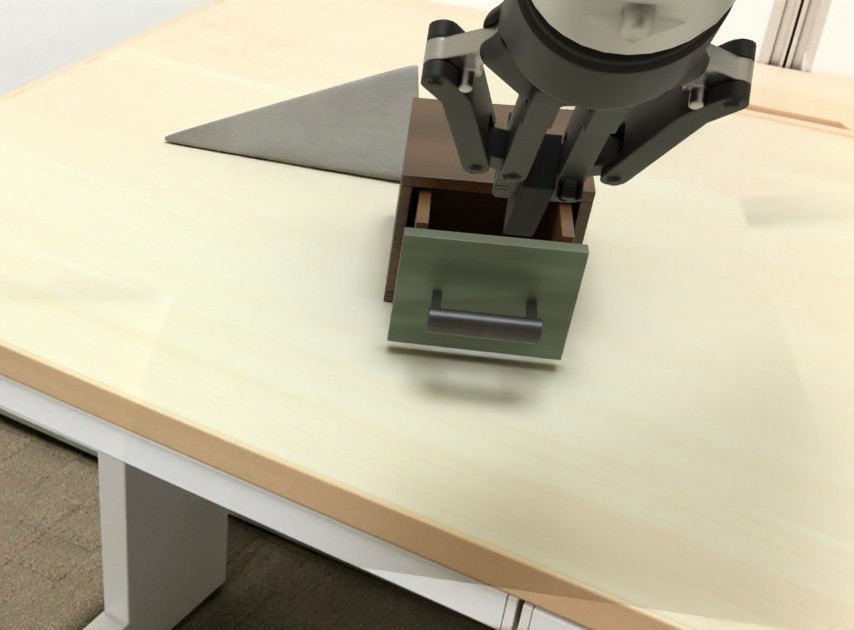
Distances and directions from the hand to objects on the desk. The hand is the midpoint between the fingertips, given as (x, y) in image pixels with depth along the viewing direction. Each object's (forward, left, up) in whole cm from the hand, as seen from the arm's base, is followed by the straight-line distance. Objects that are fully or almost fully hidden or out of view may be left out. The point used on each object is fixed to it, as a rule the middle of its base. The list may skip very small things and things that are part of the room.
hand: (521, 210), depth 66 cm
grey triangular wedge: (+22, -38, -16) cm, 47 cm away
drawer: (+3, -15, -15) cm, 22 cm away
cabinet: (+4, -25, -16) cm, 30 cm away
